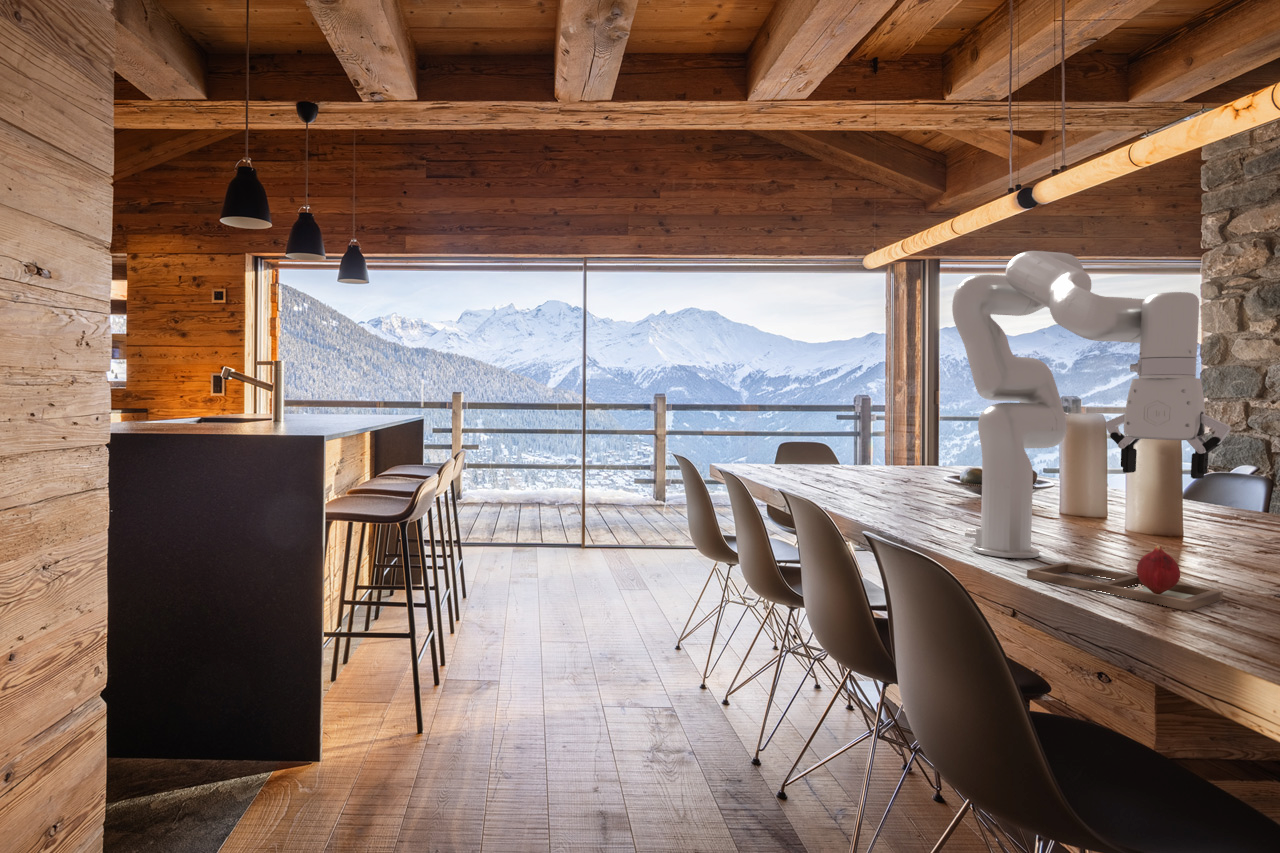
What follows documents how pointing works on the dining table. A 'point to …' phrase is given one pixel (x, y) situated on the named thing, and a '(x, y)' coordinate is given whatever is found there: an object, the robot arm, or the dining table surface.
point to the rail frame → (1174, 597)
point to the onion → (1158, 571)
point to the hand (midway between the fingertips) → (1162, 475)
